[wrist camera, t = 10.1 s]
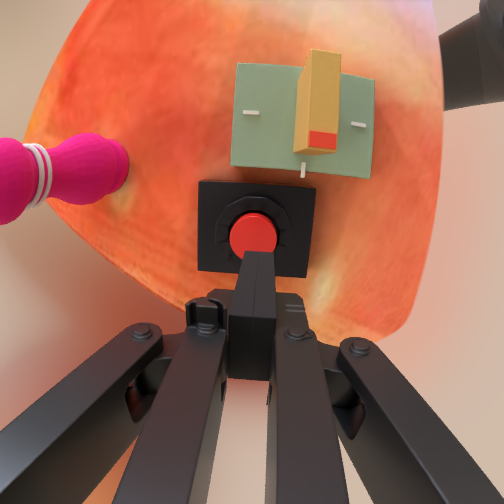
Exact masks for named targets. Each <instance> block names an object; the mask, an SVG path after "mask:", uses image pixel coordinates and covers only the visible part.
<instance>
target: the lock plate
mask: <svg viewBox="0 0 504 504" xmlns="http://www.w3.org/2000/svg"><path fill="white" fill-rule="evenodd" d="M302 69H303V67H296V66H286V65H273V64H254V63H237V69H236V82H235V95H234V110H233V125H232V142H231V160H230V166H239V167H257V168H272V169H285V170H297V171H301V178H305V171H307V172H317V173H326V174H334V175H342V176H350V177H357V178H364V179H370V175H371V164H372V150H373V133H374V102H375V80H373V79H368V78H364V77H359V76H354V75H349V74H344V73H341V79H340V107H339V126H338V141H337V152H336V153H331V154H323V155H316V156H312V155H303V154H294V153H293V144H294V130H295V116H296V99H297V82H298V79H299V76H300V74H301V72H302Z"/></svg>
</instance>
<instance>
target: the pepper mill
mask: <svg viewBox="0 0 504 504" xmlns="http://www.w3.org/2000/svg"><path fill="white" fill-rule="evenodd" d="M128 169H129V160H128V156H127V153H126V151H125V149H124V148H123V146H122V145H121V144H120V143H118V142H117V141H114V140H111V139H105V138H104V137H102V136H100V135H98V134H94V133H82V134H77V135H75V136H72V137H70V138H68V139H67V140H65V141H64V142H63V143H61V144H60V145H59V146H57V147H55V148H52V149H44V148H43V147H42V146H41V145H39V144H35V143H33V144H22V143H20V142H19V141H17V140H15V139H13V138H0V225H4V224H8V223H10V222H11V221H14V220H15V219H16V218H18V217H19V216H20V215H21V213H22V212H23V211H24V210H28V209H30V208H35V207H37V206H39V205H41V204H42V203H43V202H44V200H45V199H46V198H48V197H54V198H58V199H61V200H63V201H65V202H67V203H70V204H76V205H85V204H91V203H94V202H96V201H98V200H100V199H101V198H103V197H104V196H105V195H106V194H110V193H113V192H115V191H116V190H118V189H119V188H120V187H121V186H122V184H123V183H124V181H125V179H126V177H127V174H128Z"/></svg>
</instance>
